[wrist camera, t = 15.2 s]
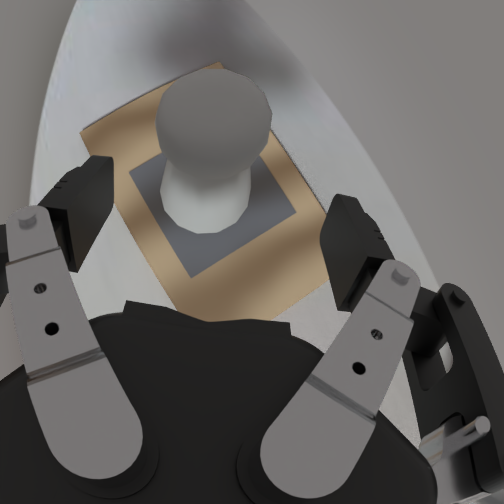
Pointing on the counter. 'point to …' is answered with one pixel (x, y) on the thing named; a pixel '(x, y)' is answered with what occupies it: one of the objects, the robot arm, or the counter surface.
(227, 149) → the salt shaker
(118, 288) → the counter surface
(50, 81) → the counter surface
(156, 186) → the wooden board
